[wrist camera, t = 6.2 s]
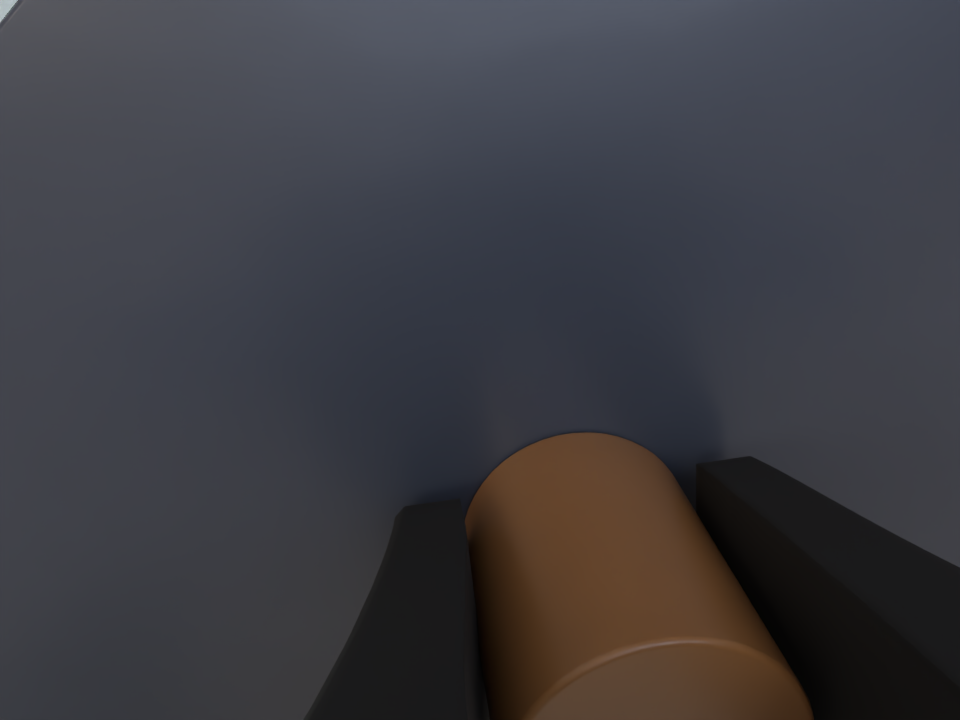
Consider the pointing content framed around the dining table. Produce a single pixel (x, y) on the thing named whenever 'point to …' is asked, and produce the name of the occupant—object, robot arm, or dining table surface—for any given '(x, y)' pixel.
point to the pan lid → (457, 332)
